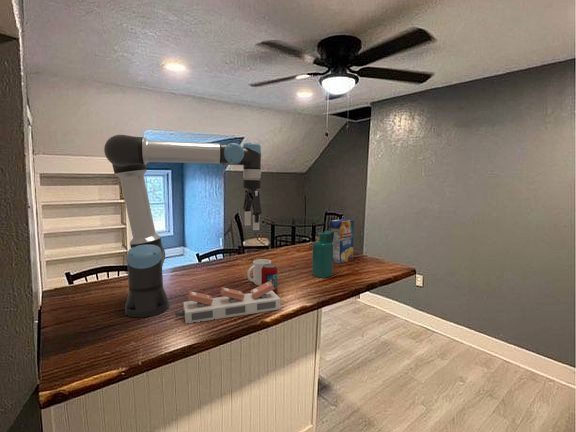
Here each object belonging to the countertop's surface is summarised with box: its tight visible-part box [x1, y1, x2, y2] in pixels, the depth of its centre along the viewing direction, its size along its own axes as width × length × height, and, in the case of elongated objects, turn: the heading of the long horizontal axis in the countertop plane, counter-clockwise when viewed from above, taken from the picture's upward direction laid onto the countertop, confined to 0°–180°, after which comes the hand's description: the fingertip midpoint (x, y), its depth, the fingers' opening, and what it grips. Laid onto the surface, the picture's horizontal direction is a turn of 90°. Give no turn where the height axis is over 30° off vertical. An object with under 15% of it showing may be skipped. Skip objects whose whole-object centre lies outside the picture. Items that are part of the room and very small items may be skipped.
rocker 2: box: [219, 286, 245, 300], centre depth 119 cm, size 8×5×2 cm, turn 111°
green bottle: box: [311, 230, 334, 279], centre depth 162 cm, size 10×8×22 cm
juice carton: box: [329, 218, 355, 265], centre depth 189 cm, size 12×8×24 cm, turn 130°
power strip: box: [174, 291, 282, 325], centre depth 119 cm, size 37×10×5 cm, turn 111°
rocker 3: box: [250, 282, 274, 299], centre depth 123 cm, size 8×5×2 cm, turn 111°
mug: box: [246, 258, 272, 286], centre depth 150 cm, size 12×8×10 cm
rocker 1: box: [187, 290, 213, 305], centre depth 115 cm, size 8×5×2 cm, turn 111°
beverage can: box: [261, 263, 278, 294], centre depth 138 cm, size 7×7×12 cm
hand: (251, 227), depth 143 cm, fingers open, 13 cm apart
